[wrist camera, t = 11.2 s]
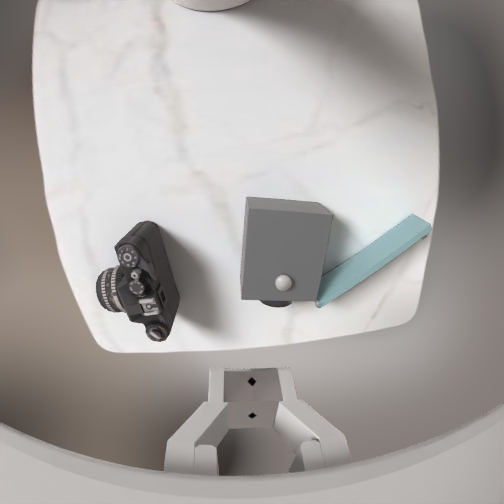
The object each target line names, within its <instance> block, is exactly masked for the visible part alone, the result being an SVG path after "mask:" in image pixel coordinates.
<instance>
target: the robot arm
mask: <svg viewBox="0 0 504 504" xmlns="http://www.w3.org/2000/svg"><path fill="white" fill-rule="evenodd" d="M173 1H174V2H176V3H177V4H179V5H181V6H184V7H186V8H190V9H194V10H201V11H217V10H224V9H229V8H233V7H236V6H239V5H242V4H244V3H246V2H248V1H250V0H173ZM267 427H273V429H274V430H275V431H276V432H277V434H278V435H279V436H280V437H281V438H282V439H283V440H284V442H285V443H286V444H287V445H288V446H289V447H290V448H291V450H292V451H293V452H294V453H295V454H296V456H295V458H294V460H293V462H292V464H291V466H290V468H289V473H285V474H274V475H257V476H219V471H218V460H217V450H216V447H217V445H218V444H219V442H220V441H221V440H222V438H223V437H224V435H225V434H226V433H227V431H228V430H229V428H267ZM0 504H504V403H503V404H501V405H499V406H497V407H496V408H494V409H492V410H490V411H489V412H487V413H485V414H483V415H481V416H479V417H478V418H476V419H474V420H472V421H470V422H468V423H466V424H464V425H461V426H459V427H457V428H455V429H453V430H451V431H448V432H446V433H444V434H441V435H439V436H437V437H434V438H432V439H429V440H427V441H424V442H421V443H419V444H416V445H413V446H410V447H407V448H404V449H401V450H398V451H395V452H392V453H388V454H385V455H382V456H378V457H374V458H370V459H367V460H362V461H358V462H354V463H353V461H352V458H351V454H350V451H349V448H348V445H347V442H346V439H345V435H344V434H343V433H341V432H340V431H339V430H338V429H336V428H335V427H334V426H333V425H331V424H330V423H329V422H328V421H327V420H325V419H324V418H323V417H322V416H321V415H319V414H318V413H317V412H316V411H315V410H313V409H312V408H311V407H310V406H309V405H307V404H306V403H305V402H304V401H303V400H298V396H297V392H296V387H295V383H294V379H293V375H292V371H291V368H290V367H288V368H259V369H231V368H229V369H228V368H210V377H209V395H208V402H204V403H203V404H202V405H201V406H200V407H199V408H198V409H197V410H196V411H195V413H194V414H193V415H192V416H191V417H190V418H189V419H188V420H187V421H186V422H185V423H184V424H183V425H182V426H181V427H180V428H179V430H178V431H177V432H176V433H175V434H174V435H173V436H172V437H171V438H170V439H169V440H168V441H167V449H166V457H165V465H164V472H162V471H154V470H148V469H142V468H136V467H131V466H126V465H120V464H116V463H112V462H108V461H103V460H99V459H96V458H92V457H88V456H85V455H81V454H78V453H75V452H71V451H69V450H66V449H63V448H60V447H57V446H54V445H51V444H48V443H46V442H43V441H41V440H38V439H36V438H33V437H31V436H29V435H26V434H24V433H22V432H20V431H18V430H15V429H13V428H11V427H9V426H7V425H5V424H3V423H1V422H0Z"/></svg>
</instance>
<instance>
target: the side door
mask: <svg viewBox="0 0 504 504" xmlns="http://www.w3.org/2000/svg"><path fill="white" fill-rule="evenodd" d="M431 230H432V227H431V224H430V223H428V222H426V221H424V220H423V219H421V218H419V217H417V216H416V215H414V214H412V215H410V216H409V217H408V218H406V219H405V220H404V221H402V222H401V223H400V224H398V225H397V226H395V227H394V228H393V229H391V230H390V231H388V232H387V233H386V234H384V235H383V236H381V237H380V238H379V239H377V240H376V241H374V242H373V243H371V244H370V245H369V246H367V247H366V248H364V249H363V250H361V251H360V252H358V253H357V254H355V255H354V256H353V257H351V258H350V259H348V260H347V261H345V262H344V263H342V264H341V265H339V266H338V267H336V268H335V269H333V270H332V271H330V272H328V273H327V274H325V275H324V276H322V277H321V281H320V286H319V290H318V295H317V299H316V301H314V302H315V304H316V307H317V308H321V307H322V306H324V305H326V304H327V303H329V302H330V301H332V300H333V299H335V298H337V297H338V296H340V295H341V294H343V293H344V292H346V291H347V290H349V289H350V288H352V287H353V286H355V285H356V284H358V283H359V282H361V281H362V280H364V279H365V278H367V277H368V276H370V275H371V274H373V273H374V272H376V271H377V270H378V269H380V268H381V267H383V266H384V265H385V264H387V263H388V262H390V261H391V260H392V259H394V258H395V257H397V256H398V255H399V254H401V253H402V252H403V251H405V250H406V249H408V248H409V247H410V246H412V245H413V244H414V243H416V242H417V241H418V240H419V239H424V238H426V237H427V236H426V234H427V233H429V232H430V231H431Z"/></svg>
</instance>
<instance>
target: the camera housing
mask: <svg viewBox="0 0 504 504" xmlns="http://www.w3.org/2000/svg"><path fill="white" fill-rule="evenodd" d="M332 218H333V214H331V213H330V212H329V211H328V210H327V209H326V208H325V207H323V206H322V205H321V204H320V203H317V202H307V201H296V200H284V199H271V198H257V197H246V207H245V220H244V233H243V246H242V260H241V274H240V282H241V299H242V300H260V301H261V302H262V303H263V304H265V305H268V306H271V307H285V306H288V305H290V304H291V303H292V301H316V299H317V295H318V290H319V286H320V281H321V276H322V271H323V266H324V261H325V256H326V251H327V246H328V241H329V235H330V230H331V224H332Z"/></svg>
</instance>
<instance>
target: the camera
mask: <svg viewBox="0 0 504 504" xmlns="http://www.w3.org/2000/svg"><path fill="white" fill-rule="evenodd" d="M115 251H116V254H117V257H118V260H119V262H120V265H118V266H116V267H115V268H108V269H106V270H105V271H103V272H102V273H101V274H100V275H99V277H98V279H97V282H96V293H97V297H98V300H99V302H100V304H101V305H102V306H103V307H104V308H105V309H107V310H108V311H112V312H125V313H127V315H128V317H129V320H130V321H131V322H136V323H142V324H144V325H145V327H146V334H147V336H148V337H149V338H150V339H151V340H153V341H158V342H161V341H164V340H166V339H167V337H168V336H169V334H170V331H171V328H172V325H173V322H174V319H175V315H176V312H177V309H178V306H179V294H178V291H177V288H176V285H175V282H174V279H173V276H172V273H171V269H170V266H169V262H168V259H167V256H166V252H165V249H164V246H163V242H162V239H161V235H160V232H159V229H158V227H157V225H156V224H155V223H154V222H151V221H144V222H139V223H138V224H137V225H135V227H134V228H133V229H132V230H131V231H130V232H128V233H127V235H126V236H124V237H123V238H122V239H121V240H120V241H119V242H118V243H117V244H116V245H115Z"/></svg>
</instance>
